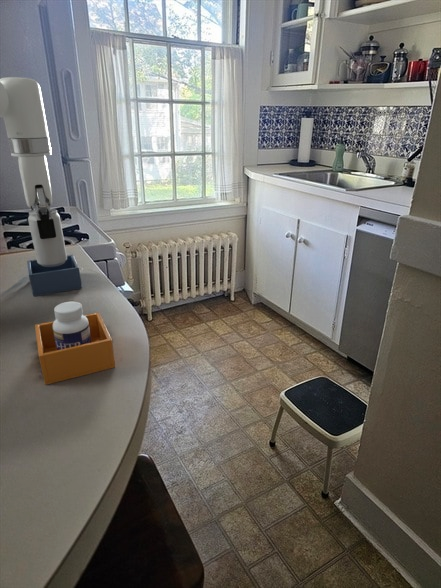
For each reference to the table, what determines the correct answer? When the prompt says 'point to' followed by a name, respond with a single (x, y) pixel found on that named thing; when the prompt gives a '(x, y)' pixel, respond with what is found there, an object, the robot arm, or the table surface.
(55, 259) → the beverage can
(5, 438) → the table surface
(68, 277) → the slate bin
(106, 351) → the amber bin
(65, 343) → the pill bottle
